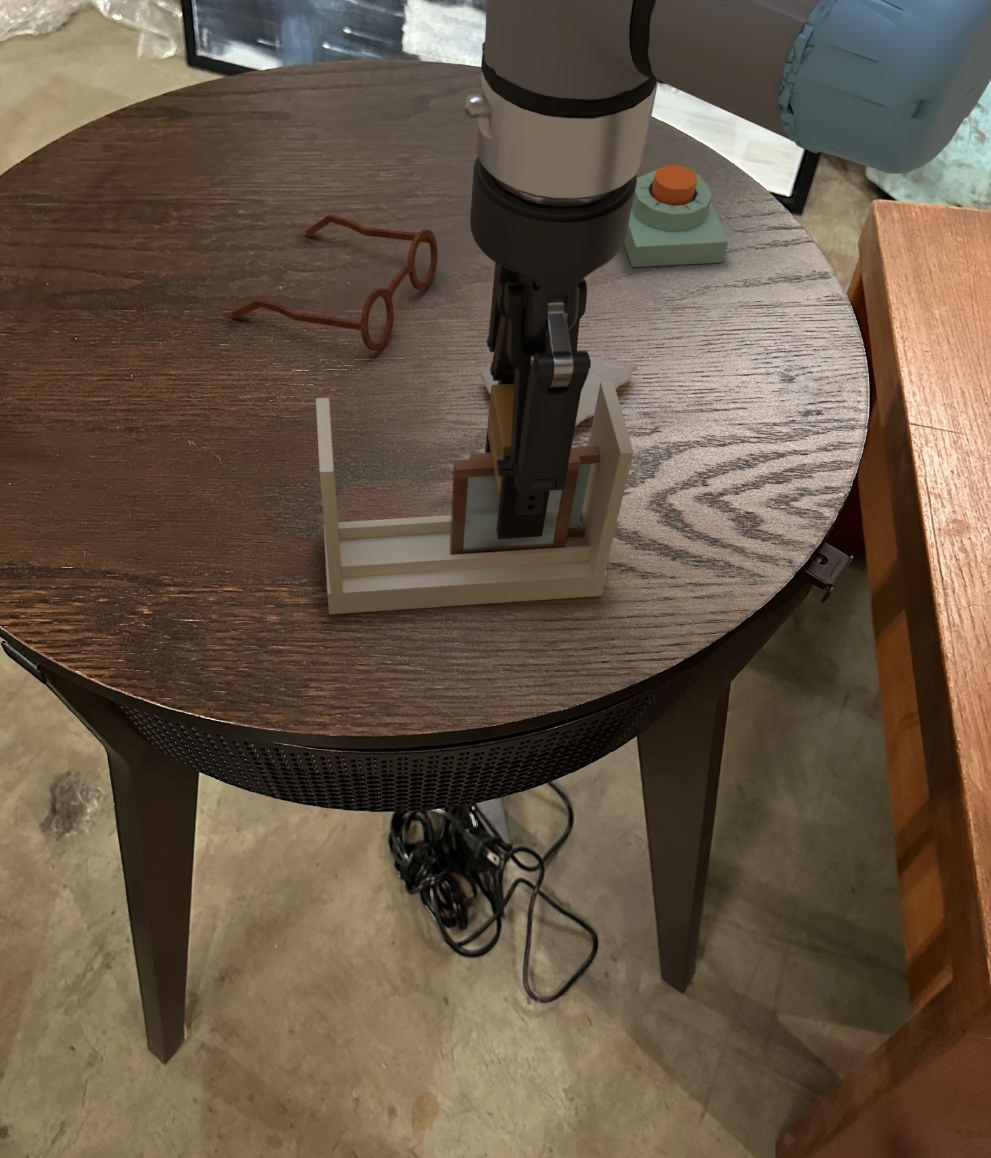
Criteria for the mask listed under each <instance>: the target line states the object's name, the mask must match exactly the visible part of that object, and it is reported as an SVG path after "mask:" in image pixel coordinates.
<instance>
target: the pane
mask: <svg viewBox="0 0 991 1158" xmlns="http://www.w3.org/2000/svg"><path fill="white" fill-rule="evenodd" d="M513 400H514V384H498V385H492V387H491V399H490V398H489V406H490V410H489V409H488V416H489V422H488V421H487V427H488V438H489V443H490V449H491V454H492V458H485V459H470V458H469V459H458V460H457V459H455V460H454V461H453V471H452V472H453V473H452V475H453V476H452V491H451V511H450V515H451V527H450V546H449V552H450V555H457V554H472V553H487V552H502V551H517V550H532V549H547V548H562V547H565V543H566V538H567V532H568V527H569V522H570V516H571V511H572V506H573V500H574V495H575V490H576V484H577V479H578V474H579V469H580V463H581V461H580V456H579V453H570V458H569V463H568V469H567V474H566V483H565V486H564V489H563V490H554V491H550V493H549V499H548V505H547V510H546V516H545V522H544V528H543V534H542V537H526V538H510V539H498V536H497V531H496V529H497V520H498V511H499V503H500V494H501V486H502V478H503V476H502V477H499V476H498V472H497V460H505V456H511V437H512V419H513Z"/></svg>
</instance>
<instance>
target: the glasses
mask: <svg viewBox="0 0 991 1158" xmlns="http://www.w3.org/2000/svg"><path fill="white" fill-rule="evenodd" d="M331 223H332V224H335V225H339V226H343V227H345V228H348V229H350V230H353V231H355V232H356V233H359V234H360V235H362V236H365V237H374V238H383V239H392V240H401V241H411V243H410V246H409V250H408V255H407V258H406V260H407V261H406V266H405V265H404V266H403V267H401V268H400V269H399V271H398V272H397V273H396V275H395V276H394V277H393V279H392V280H391V281H390V283H389V284H388V287H387V288H380V287H377V288H375V289H374V290H372V291H371V293H369V295H368V296H367V298H366V300H365V301H364V304H363V307H362V310H361V314H360V320H355V319H349V318H342V317H335V316H328V315H322V314H314V313H308V312H301V311H295V310H293V309H291V308H288V307H286V306H284V305H282V304H280V303H278V302H274V301H271V300H267V299H262V298H257V299H255V300H253V301H251V302H249V303H247V304H245V305H243V306H241V307H239V308H237V309H235V310H233V311H232V312H231V315H232V316H233V318H234V319H235V320H237V319H239V318H241V317H243V316H245V315H247V314H249V313H251V312H254V311H255V310H257V309H260V308H263V309H266V310H268V311H269V310H270V311H273V312H276V313H278V314H281V315H283V316H285V317H287V318H288V319H292V320H293V321H297V322H304V323H311V324H317V325H323V326H329V327H330V326H331V327H336V328H343V329H350V330H357V331H360V333H361V334H360V335H361V338H362V342H363V344H364V346H365V348H366V349H368V351H373V352H374V351H375V352H377V351H380V350H381V349H382V348H383V347H384V346H385V345H386V343H387V342H388V341H389V339H390V337H391V334H392V331H393V327H394V321H395V320H394V317H395V315H394V313H395V311H394V303H393V296H394V294H395V291H396V290H397V288H398V287H399V286H400V284H401V283H402V282H403V281H404V279H405V278H406V276H408V277H409V281H410V283H411V285H412V287H413V288H414V289H415V290H420V291H423V290H425V289H426V288H428V287H429V285H430V284H431V282H432V281H433V278H434V276H435V273H436V270H437V265H438V257H439V255H438V254H439V253H438V245H437V240H436V237H435V235H434V233H433V231H431V230H430V229H421V230H419V231H418V232H414V231H403V230H393V229H386V228H385V229H384V228H375V227H367V226H366V227H365V226H364V225H362V224H359V223H357V222H355V221H353V220H351V219H348V218H345V217H340V216H338V215H337V216H336V215H334V214H333V215H332V214H328V215H327V216H325V217H324V218H322V219H321V220H319V221H318V222H317V223H315V224H314V225H312V226H310V227H309V228H307V229H306V230H304V233H305V234H306V236H307V237H308V238H310V237H311V236H313V235H314V234H316V233H317V232H318V231H320V230H322V229H324V228H325V227H326V226H328V225H330V224H331ZM421 243H427V244H428V245H429V250H430V263H429V267H428V271H427V273H426V276H425V277H424V278H422V279H423V280H421V281H420V280H419V278H418V276H417V273H416V267H415V260H416V254H417V251H418V248H419V246H420V244H421ZM380 297H381V298H382V299H383V301H384V304H385V310H386V319H385V320H386V321H385V327H384V330H383V332H382V335H381V336H380V337H379V339H378V340H377V341H375V342H374V341H373V340H372V337H371V334H370V330H369V317H370V312H371V309H372V307H373V305H374V304H375V302H376V301H377V300H378V298H380Z"/></svg>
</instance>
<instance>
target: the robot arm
mask: <svg viewBox="0 0 991 1158" xmlns="http://www.w3.org/2000/svg"><path fill="white" fill-rule="evenodd" d="M484 29H485V31H484V42H483V43H482V44H481V51H482V52H481V53H482V55H481V62H480V63H481V64H480V69H481V73H480V84H481V88H482V92H481V93H471V94H468V95H467V96H466V97H465V100H464V104H465V106H464V112H465V114H466V115H467V116H468V117H469V118H470V119H477V126H476V127H477V129H476V140H475V141H476V144H475V149H476V155H477V157H476V158H475V160H474V165H473V172H472V186H471V188H472V189H471V199H470V200H471V201H470V216H469V225H470V231H471V236H472V237H473V239H474V241H475V243H476V246H478V249H480V250H481V252H482V253H483V254H484V255H485V256H487V257H488V258H489V259H490V260H491V261H493V262H494V274H493V284H492V295H491V305H490V314H489V315H490V317H489V327H488V337H486V346H487V347H488V350H489V353H493V356H492V362H491V365H490V368H489V370H490V373H491V375H492V377H493V381H498V384H514V400H513V419H512V437H511V456H505V460H497V472H498V476H499V477H502V476H503V478H502V486H501V494H500V503H499V511H498V520H497V529H496V531H497V536H498V539H510V538H526V537H542V534H543V528H544V522H545V516H546V510H547V505H548V499H549V493H550V491H554V490H563V489H564V486H565V483H566V474H567V469H568V463H569V458H570V452H571V448H572V447H573V446H572V445H573V440H574V435H575V430H576V426H575V424H576V418H577V413H578V407H579V402H580V396H581V391H582V388H583V386H584V383H585V381H586V379H587V376H588V373H589V369H590V367H591V360H592V359H591V358H590V354H589V352H588V350H578V342H579V332H580V323H581V322H580V321H581V319H582V317H584V315H585V313H586V309H587V299H588V298H587V297H588V283H587V281H586V278H587V276H589V275H591V274H592V273H594V272H595V271H597V270H598V269H600V268H602V267H603V266H605V265H607V264H608V263H610V261H612V260H613V259H614V258H615V257H616V256H617V255H618V254H619V253H620V251H621V249H622V247H624V241H625V238H626V234H627V229H628V224H629V219H630V214H631V209H632V204H633V199H634V194H635V189H636V183H637V178H638V177H637V173H638V171H639V169H640V167H641V166H642V163H643V161H644V156H645V151H646V146H647V141H648V136H649V131H650V127H651V121H652V116H653V111H654V106H655V101H656V95H657V91H658V85H659V84H662V85H668V86H670V87H672V88H675V89H677V90H678V91H681V92H683V93H685V94H687V95H689V96H692V97H694V98H695V99H698V100H701V101H703V102H705V103H707V104H710V105H712V106H714V107H717V108H718V109H721V110H723V111H725V112H728V113H729V114H731V115H734V116H736V117H738V118H741V119H743V120H745V121H748V122H750V123H752V124H754V125H756V126H759V127H760V128H763V129H765V130H767V131H769V132H772V133H774V134H776V135H778V136H781V137H783V138H784V139H786V140H789V141H791V142H792V143H794V144H795V145H796V146H797V147H799V148H800V149H803V150H807V151H809V152H811V153H813V154H817V153H822V154H825V155H827V156H830V155H831V156H835V157H837V158H841V159H843V160H847V161H850V162H852V163H856V164H858V165H861V166H864V167H867V168H871V169H873V170H877V171H879V172H882V173H885V174H888V175H889V174H890V175H891V174H892V175H897V174H898V175H901V174H907V173H910V172H913V171H917V170H919V169H920V168H922V167H924V166H925V165H927V164H929V163H930V162H932V161H933V160H934V159H935V158H936V157H937V156H938V155H939V154H941V152H942V151H943V150H944V149H945V148H946V147H947V146H948V145H949V144H950V143H951V141H952V140H953V138H954V137H955V134H956V133H957V132H958V130H959V128H960V126H961V125H962V123H963V122H964V120H965V119H967V118H968V117H969V116H970V115H971V113H972V112H973V110H975V108H976V106H977V104H978V103H979V101H980V100H981V98H982V96H983V95H984V93H985V91H986V89H987V88H988V85H989V84H990V82H991V0H486V1H485V28H484ZM491 387H492V386H491ZM490 399H491V396H490V395H489V400H490ZM488 406H489V408H488V411H489V410H490V405H488ZM488 422H489V415H488V416H487V423H488ZM484 453H491V449H490V443H489V438H488V426H487V428H486V438H485V449H484Z"/></svg>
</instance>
